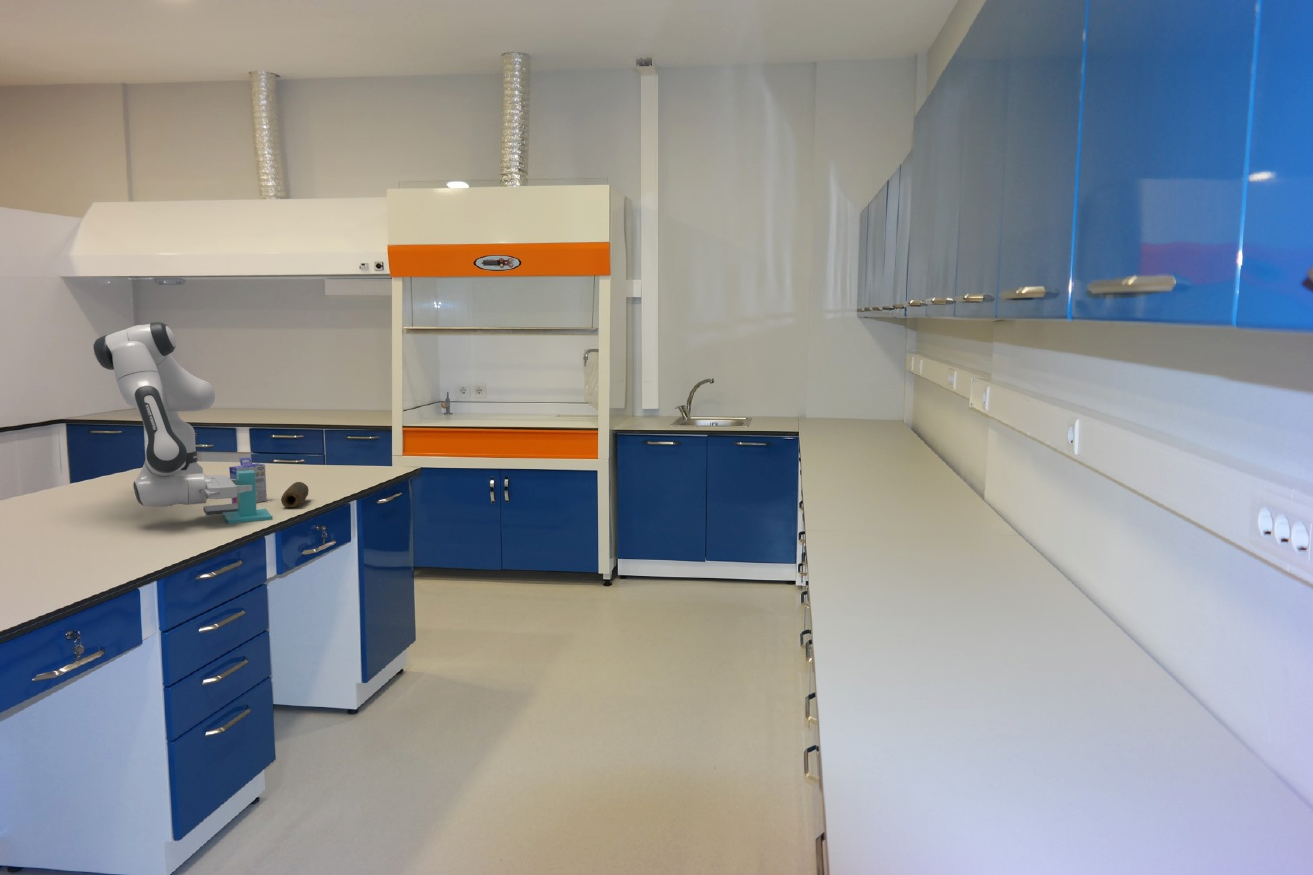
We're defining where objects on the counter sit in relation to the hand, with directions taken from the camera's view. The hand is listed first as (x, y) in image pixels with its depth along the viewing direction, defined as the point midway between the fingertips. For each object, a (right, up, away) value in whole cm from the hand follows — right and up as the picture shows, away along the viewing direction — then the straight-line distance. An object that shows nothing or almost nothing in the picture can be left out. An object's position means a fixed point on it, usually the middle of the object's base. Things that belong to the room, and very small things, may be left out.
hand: (249, 484), depth 272 cm
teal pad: (-1, -10, +1) cm, 10 cm away
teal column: (-1, -9, +1) cm, 9 cm away
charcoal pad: (-12, -8, +10) cm, 18 cm away
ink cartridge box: (-10, -7, +23) cm, 26 cm away
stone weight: (+6, -8, +21) cm, 23 cm away
